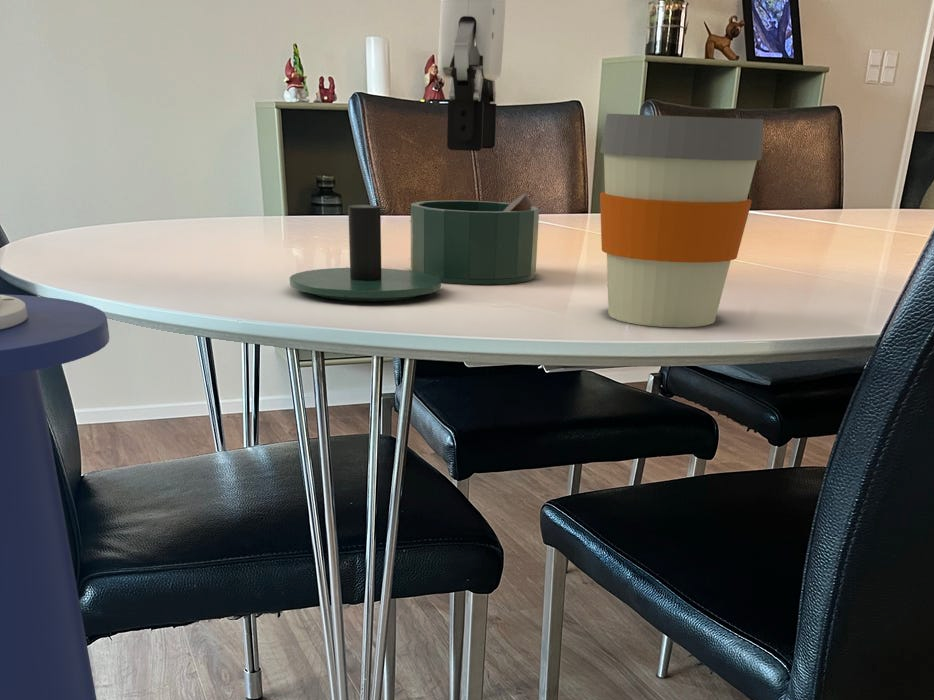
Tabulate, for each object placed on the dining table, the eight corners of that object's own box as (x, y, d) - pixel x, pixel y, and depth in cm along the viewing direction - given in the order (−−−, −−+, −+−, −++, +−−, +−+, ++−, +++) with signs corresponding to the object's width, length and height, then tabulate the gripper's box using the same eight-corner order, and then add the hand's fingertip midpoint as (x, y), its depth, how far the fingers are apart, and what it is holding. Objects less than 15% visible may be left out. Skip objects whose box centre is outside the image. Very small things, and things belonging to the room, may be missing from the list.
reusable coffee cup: (598, 329, 78) (617, 113, 71) (577, 302, 89) (592, 113, 82) (755, 333, 79) (789, 120, 72) (715, 305, 90) (741, 118, 83)
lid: (414, 310, 83) (414, 217, 80) (264, 298, 86) (258, 207, 82) (458, 286, 95) (459, 204, 91) (324, 276, 97) (321, 196, 94)
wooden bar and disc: (456, 270, 102) (445, 256, 101) (462, 258, 105) (451, 244, 104) (530, 209, 97) (519, 194, 96) (535, 198, 100) (524, 184, 99)
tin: (519, 288, 95) (523, 214, 92) (394, 279, 98) (394, 207, 95) (545, 271, 106) (549, 204, 103) (432, 263, 108) (432, 198, 105)
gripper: (452, -52, 96) (448, 145, 104) (418, -85, 81) (417, 149, 89) (529, -50, 95) (519, 148, 103) (509, -83, 80) (500, 153, 88)
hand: (472, 148), depth 96 cm, fingers open, 9 cm apart
